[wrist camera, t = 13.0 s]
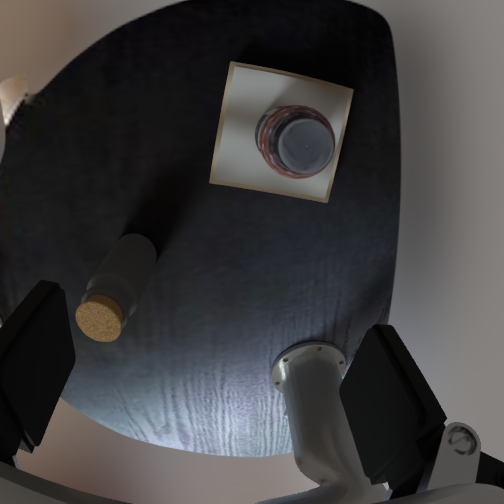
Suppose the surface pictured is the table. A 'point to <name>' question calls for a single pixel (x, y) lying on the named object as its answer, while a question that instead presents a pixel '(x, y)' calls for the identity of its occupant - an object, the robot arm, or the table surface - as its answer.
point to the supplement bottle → (295, 141)
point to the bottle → (116, 288)
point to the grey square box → (248, 115)
